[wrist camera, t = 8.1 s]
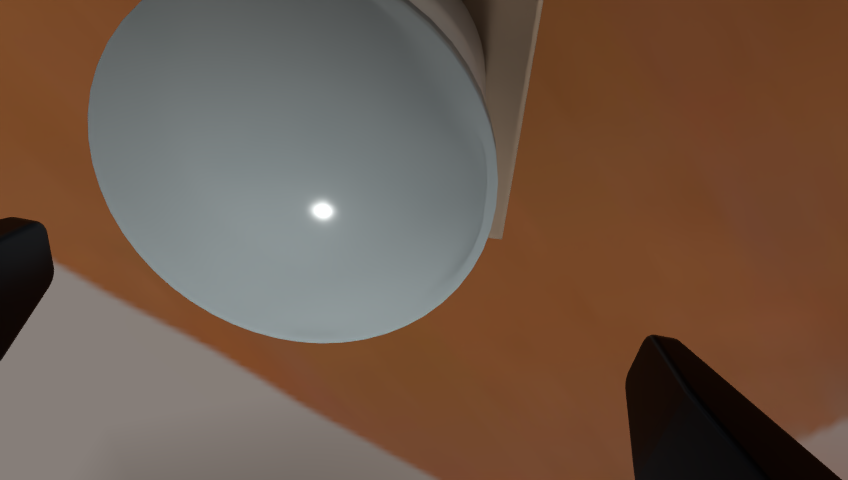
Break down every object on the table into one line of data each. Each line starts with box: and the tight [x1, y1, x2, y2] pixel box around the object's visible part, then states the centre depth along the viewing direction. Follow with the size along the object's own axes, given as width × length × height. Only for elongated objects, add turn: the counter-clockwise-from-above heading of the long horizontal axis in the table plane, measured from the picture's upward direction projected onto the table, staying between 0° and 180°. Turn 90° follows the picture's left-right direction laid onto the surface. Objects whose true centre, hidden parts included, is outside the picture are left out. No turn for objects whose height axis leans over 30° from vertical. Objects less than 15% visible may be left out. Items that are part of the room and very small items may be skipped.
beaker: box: [88, 0, 498, 343], centre depth 12 cm, size 6×6×6 cm
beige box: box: [462, 0, 543, 239], centre depth 17 cm, size 8×8×6 cm
